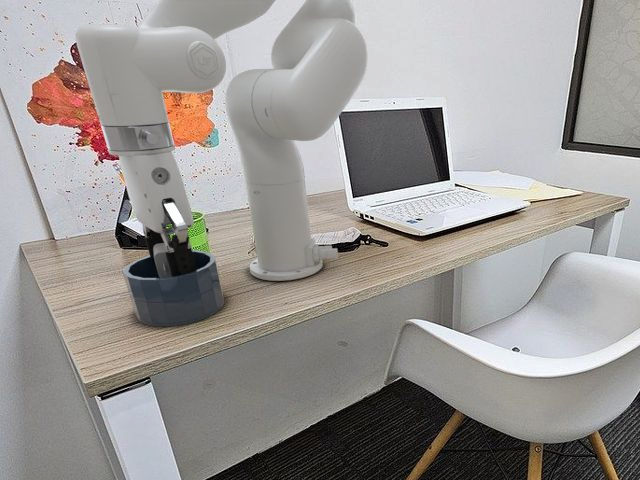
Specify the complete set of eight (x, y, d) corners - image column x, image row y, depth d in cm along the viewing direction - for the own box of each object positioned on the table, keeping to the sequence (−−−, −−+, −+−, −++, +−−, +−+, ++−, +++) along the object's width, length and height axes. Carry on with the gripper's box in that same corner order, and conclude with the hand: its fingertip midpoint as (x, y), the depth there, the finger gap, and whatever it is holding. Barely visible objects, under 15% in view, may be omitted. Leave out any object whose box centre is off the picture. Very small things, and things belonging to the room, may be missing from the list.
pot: (205, 285, 78) (196, 244, 74) (237, 308, 70) (229, 264, 67) (126, 307, 70) (112, 263, 67) (152, 335, 63) (138, 287, 60)
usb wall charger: (188, 265, 72) (182, 240, 70) (192, 281, 66) (185, 254, 64) (159, 270, 70) (152, 244, 68) (160, 287, 64) (153, 259, 63)
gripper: (197, 142, 56) (226, 279, 64) (149, 131, 67) (179, 248, 76) (128, 149, 52) (168, 295, 60) (88, 136, 63) (127, 260, 71)
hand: (174, 268), depth 68 cm, fingers closed on usb wall charger, 7 cm apart
